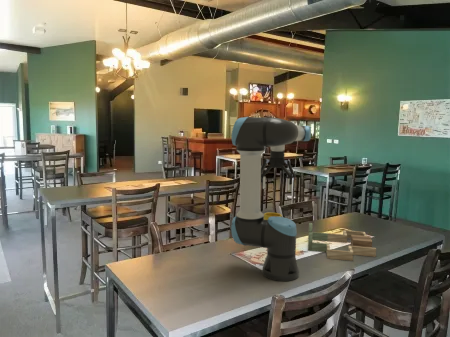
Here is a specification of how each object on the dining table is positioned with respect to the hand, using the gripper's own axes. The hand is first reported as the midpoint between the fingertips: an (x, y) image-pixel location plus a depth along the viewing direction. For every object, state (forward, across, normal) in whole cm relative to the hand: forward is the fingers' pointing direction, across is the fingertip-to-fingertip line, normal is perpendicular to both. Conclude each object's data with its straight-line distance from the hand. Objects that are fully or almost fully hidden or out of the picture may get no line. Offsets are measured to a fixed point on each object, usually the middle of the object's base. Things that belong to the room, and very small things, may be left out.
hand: (276, 189), depth 195 cm
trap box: (+27, -34, +3) cm, 44 cm away
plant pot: (+27, +4, -13) cm, 31 cm away
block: (+27, -45, +2) cm, 52 cm away
